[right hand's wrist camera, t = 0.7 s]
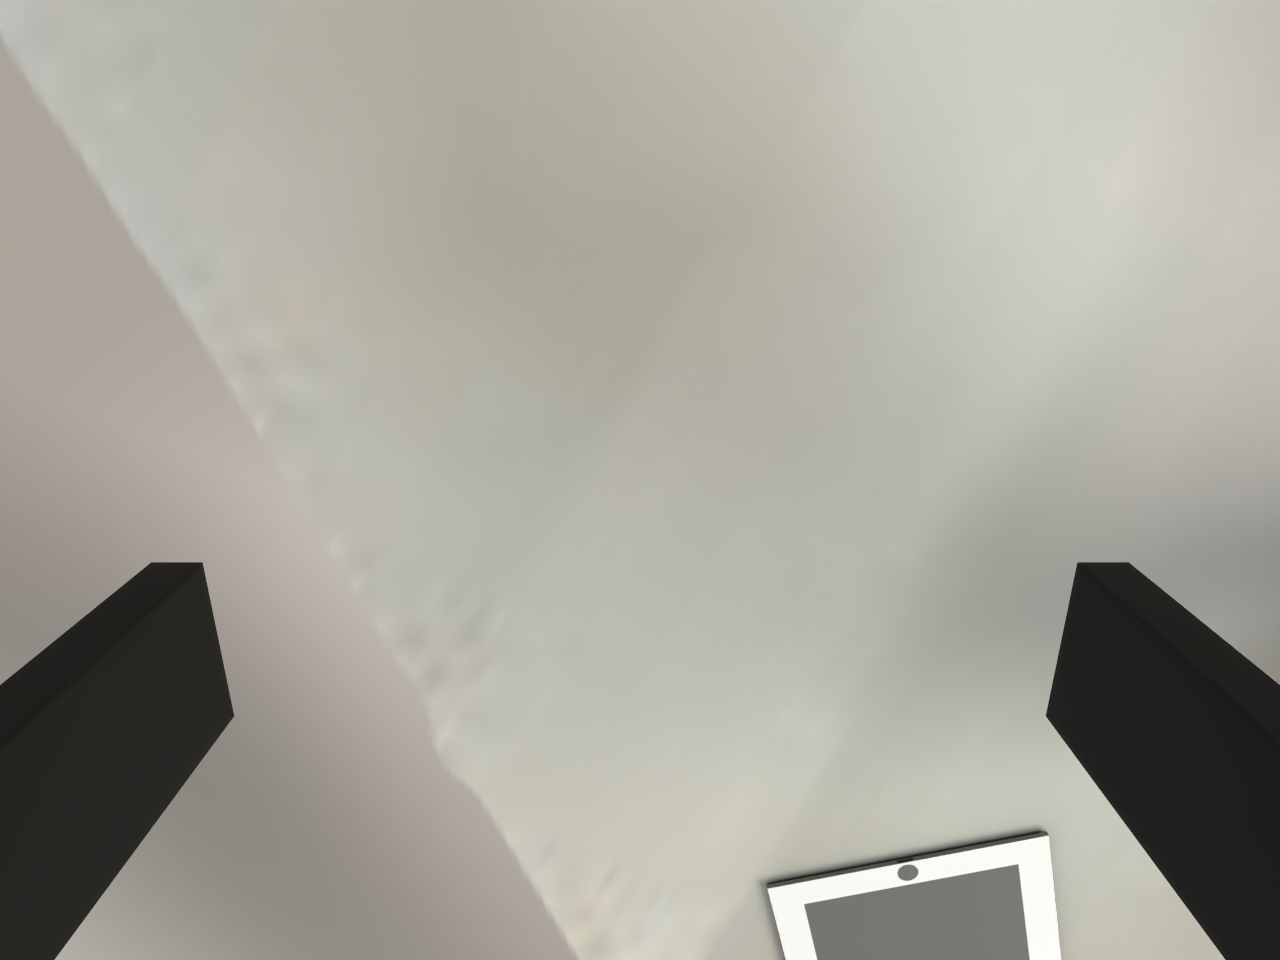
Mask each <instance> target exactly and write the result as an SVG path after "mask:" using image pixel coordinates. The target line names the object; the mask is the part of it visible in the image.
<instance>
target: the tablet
mask: <svg viewBox="0 0 1280 960" xmlns="http://www.w3.org/2000/svg"><path fill="white" fill-rule="evenodd" d="M767 889H768V893H769V897H770V901H771V904H772V908H773V912H774V916H775V920H776V924H777V928H778V932H779V935H780V939H781V943H782V947H783V951H784V955H785V959H786V960H1061V953H1060V943H1059V933H1058V923H1057V913H1056V903H1055V893H1054V884H1053V874H1052V864H1051V854H1050V844H1049V835H1048V833H1047V832H1042V833H1037V834H1031V835H1026V836H1021V837H1016V838H1010V839H1005V840H1000V841H995V842H989V843H984V844H979V845H973V846H968V847H963V848H958V849H952V850H947V851H942V852H937V853H931V854H926V855H921V856H916V857H910V858H905V859H900V860H894V861H889V862H884V863H879V864H873V865H868V866H863V867H858V868H852V869H847V870H842V871H836V872H831V873H826V874H821V875H815V876H810V877H805V878H800V879H794V880H789V881H784V882H779V883H773V884H768V885H767Z"/></svg>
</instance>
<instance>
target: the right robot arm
mask: <svg viewBox="0 0 1280 960" xmlns="http://www.w3.org/2000/svg"><path fill="white" fill-rule="evenodd" d="M233 717H234V713H233V708H232V704H231V699H230V694H229V689H228V684H227V679H226V674H225V670H224V665H223V660H222V655H221V650H220V645H219V640H218V636H217V631H216V626H215V621H214V616H213V611H212V606H211V602H210V597H209V592H208V587H207V582H206V577H205V572H204V568H203V563H150V564H149V565H148V566H147V567H145V568H144V569H143V570H142V571H140V572H139V573H138V574H137V575H135V576H134V577H133V578H132V579H130V580H129V581H128V582H127V583H126V584H124V585H123V586H122V587H121V588H119V589H118V590H117V591H116V592H114V593H113V594H112V595H111V596H110V597H108V598H107V599H106V600H105V601H103V602H102V603H101V604H100V605H98V606H97V607H96V608H95V609H94V610H92V611H91V612H90V613H89V614H87V615H86V616H85V617H84V618H82V619H81V620H80V621H79V622H78V623H76V624H75V625H74V626H73V627H71V628H70V629H69V630H68V631H66V632H65V633H64V634H63V635H61V636H60V637H59V638H58V639H57V640H55V641H54V642H53V643H52V644H50V645H49V646H48V647H47V648H45V649H44V650H43V651H42V652H41V653H39V654H38V655H37V656H36V657H34V658H33V659H32V660H31V661H29V662H28V663H27V664H26V665H24V666H23V667H22V668H21V669H20V670H18V671H17V672H16V673H15V674H13V675H12V676H11V677H10V678H8V679H7V680H6V681H5V682H4V683H2V684H1V685H0V960H54V959H55V958H56V957H57V955H58V954H59V953H60V951H61V950H62V949H63V947H64V946H65V944H66V943H67V942H68V941H69V939H70V938H71V936H72V935H73V934H74V932H75V931H76V930H77V928H78V927H79V926H80V924H81V923H82V921H83V920H84V919H85V917H86V916H87V915H88V913H89V912H90V911H91V909H92V908H93V907H94V905H95V904H96V903H97V901H98V900H99V898H100V897H101V896H102V894H103V893H104V892H105V890H106V889H107V888H108V886H109V885H110V884H111V882H112V881H113V879H114V878H115V877H116V875H117V874H118V873H119V871H120V870H121V869H122V867H123V866H124V865H125V863H126V862H127V861H128V859H129V858H130V856H131V855H132V854H133V852H134V851H135V850H136V848H137V847H138V846H139V844H140V843H141V841H142V840H143V839H144V837H145V836H146V835H147V833H148V832H149V831H150V829H151V828H152V827H153V825H154V824H155V823H156V821H157V820H158V819H159V817H160V816H161V814H162V813H163V812H164V810H165V809H166V808H167V806H168V805H169V804H170V802H171V801H172V800H173V798H174V797H175V795H176V794H177V793H178V791H179V790H180V789H181V787H182V786H183V785H184V783H185V782H186V781H187V779H188V778H189V777H190V775H191V774H192V772H193V771H194V770H195V768H196V767H197V766H198V764H199V763H200V762H201V760H202V759H203V757H204V756H205V755H206V753H207V752H208V751H209V749H210V748H211V747H212V745H213V744H214V743H215V741H216V740H217V739H218V737H219V736H220V734H221V733H222V732H223V730H224V729H225V728H226V726H227V725H228V724H229V722H230V721H231V720H232V718H233ZM1046 717H1047V718H1048V720H1049V721H1050V722H1051V724H1052V725H1053V726H1054V728H1055V729H1056V730H1057V732H1058V733H1059V735H1060V736H1061V737H1062V739H1063V740H1064V741H1065V743H1066V744H1067V745H1068V747H1069V748H1070V749H1071V751H1072V752H1073V753H1074V755H1075V756H1076V758H1077V759H1078V760H1079V762H1080V763H1081V764H1082V766H1083V767H1084V768H1085V770H1086V771H1087V772H1088V774H1089V775H1090V777H1091V778H1092V779H1093V781H1094V782H1095V783H1096V785H1097V786H1098V787H1099V789H1100V790H1101V791H1102V793H1103V794H1104V796H1105V797H1106V798H1107V800H1108V801H1109V802H1110V804H1111V805H1112V806H1113V808H1114V809H1115V810H1116V812H1117V813H1118V814H1119V816H1120V817H1121V819H1122V820H1123V821H1124V823H1125V824H1126V825H1127V827H1128V828H1129V829H1130V831H1131V832H1132V833H1133V835H1134V836H1135V838H1136V839H1137V840H1138V842H1139V843H1140V844H1141V846H1142V847H1143V848H1144V850H1145V851H1146V852H1147V854H1148V855H1149V856H1150V858H1151V859H1152V861H1153V862H1154V863H1155V865H1156V866H1157V867H1158V869H1159V870H1160V871H1161V873H1162V874H1163V875H1164V877H1165V878H1166V880H1167V881H1168V882H1169V884H1170V885H1171V886H1172V888H1173V889H1174V890H1175V892H1176V893H1177V894H1178V896H1179V897H1180V899H1181V900H1182V901H1183V903H1184V904H1185V905H1186V907H1187V908H1188V909H1189V911H1190V912H1191V913H1192V915H1193V916H1194V917H1195V919H1196V920H1197V922H1198V923H1199V924H1200V926H1201V927H1202V928H1203V930H1204V931H1205V932H1206V934H1207V935H1208V936H1209V938H1210V939H1211V941H1212V942H1213V943H1214V945H1215V946H1216V947H1217V949H1218V950H1219V951H1220V953H1221V954H1222V955H1223V957H1224V958H1225V959H1226V960H1280V685H1279V684H1278V683H1276V682H1275V681H1274V680H1273V679H1272V678H1270V677H1269V676H1268V675H1267V674H1265V673H1264V672H1263V671H1262V670H1260V669H1259V668H1258V667H1257V666H1256V665H1254V664H1253V663H1252V662H1251V661H1249V660H1248V659H1247V658H1246V657H1244V656H1243V655H1242V654H1241V653H1239V652H1238V651H1237V650H1236V649H1235V648H1233V647H1232V646H1231V645H1230V644H1228V643H1227V642H1226V641H1225V640H1223V639H1222V638H1221V637H1220V636H1219V635H1217V634H1216V633H1215V632H1214V631H1212V630H1211V629H1210V628H1209V627H1207V626H1206V625H1205V624H1204V623H1203V622H1201V621H1200V620H1199V619H1198V618H1196V617H1195V616H1194V615H1193V614H1191V613H1190V612H1189V611H1188V610H1187V609H1185V608H1184V607H1183V606H1182V605H1180V604H1179V603H1178V602H1177V601H1175V600H1174V599H1173V598H1172V597H1170V596H1169V595H1168V594H1167V593H1166V592H1164V591H1163V590H1162V589H1161V588H1159V587H1158V586H1157V585H1156V584H1154V583H1153V582H1152V581H1151V580H1150V579H1148V578H1147V577H1146V576H1145V575H1143V574H1142V573H1141V572H1140V571H1138V570H1137V569H1136V568H1135V567H1134V566H1132V565H1131V564H1130V563H1077V568H1076V572H1075V577H1074V582H1073V587H1072V592H1071V597H1070V602H1069V606H1068V611H1067V616H1066V621H1065V626H1064V631H1063V636H1062V640H1061V645H1060V650H1059V655H1058V660H1057V665H1056V670H1055V674H1054V679H1053V684H1052V689H1051V694H1050V699H1049V704H1048V708H1047V713H1046Z"/></svg>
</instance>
